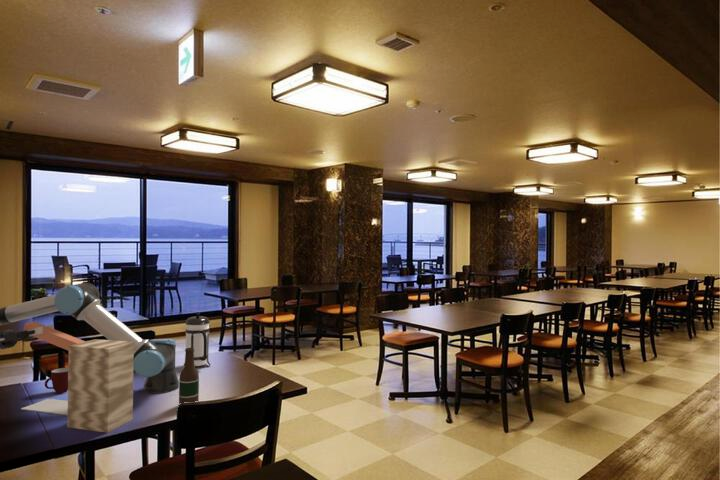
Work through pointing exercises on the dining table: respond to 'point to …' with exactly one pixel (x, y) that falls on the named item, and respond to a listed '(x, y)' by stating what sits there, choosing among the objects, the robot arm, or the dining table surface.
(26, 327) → the pink long bar
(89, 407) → the stand
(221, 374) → the dining table surface
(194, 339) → the coffee press
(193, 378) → the beer bottle
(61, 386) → the mug
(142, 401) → the dining table surface
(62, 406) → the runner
